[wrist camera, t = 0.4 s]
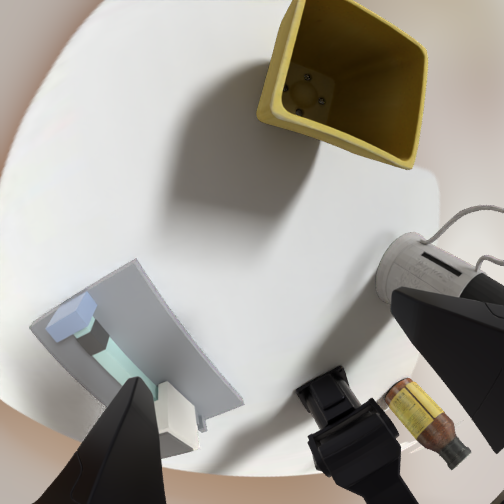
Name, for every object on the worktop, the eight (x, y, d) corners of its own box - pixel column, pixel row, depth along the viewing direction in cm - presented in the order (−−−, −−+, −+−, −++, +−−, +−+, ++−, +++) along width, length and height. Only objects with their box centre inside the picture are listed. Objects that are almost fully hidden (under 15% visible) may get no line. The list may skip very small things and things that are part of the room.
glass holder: (369, 310, 28) (458, 398, 14) (386, 180, 23) (528, 227, 9) (420, 294, 30) (502, 359, 16) (438, 183, 24) (550, 221, 11)
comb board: (242, 398, 28) (250, 424, 24) (147, 431, 27) (147, 455, 24) (136, 258, 20) (126, 281, 16) (32, 322, 19) (17, 346, 15)
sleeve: (194, 406, 25) (200, 451, 20) (157, 418, 25) (159, 461, 19) (167, 380, 23) (168, 430, 18) (129, 394, 23) (125, 441, 17)
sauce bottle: (382, 406, 38) (437, 481, 20) (384, 388, 36) (449, 472, 18) (410, 387, 39) (468, 456, 21) (414, 369, 36) (481, 443, 18)
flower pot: (232, 131, 18) (268, 114, 10) (259, 33, 16) (305, -25, 7) (335, 161, 21) (413, 173, 13) (354, 71, 18) (429, 50, 10)
